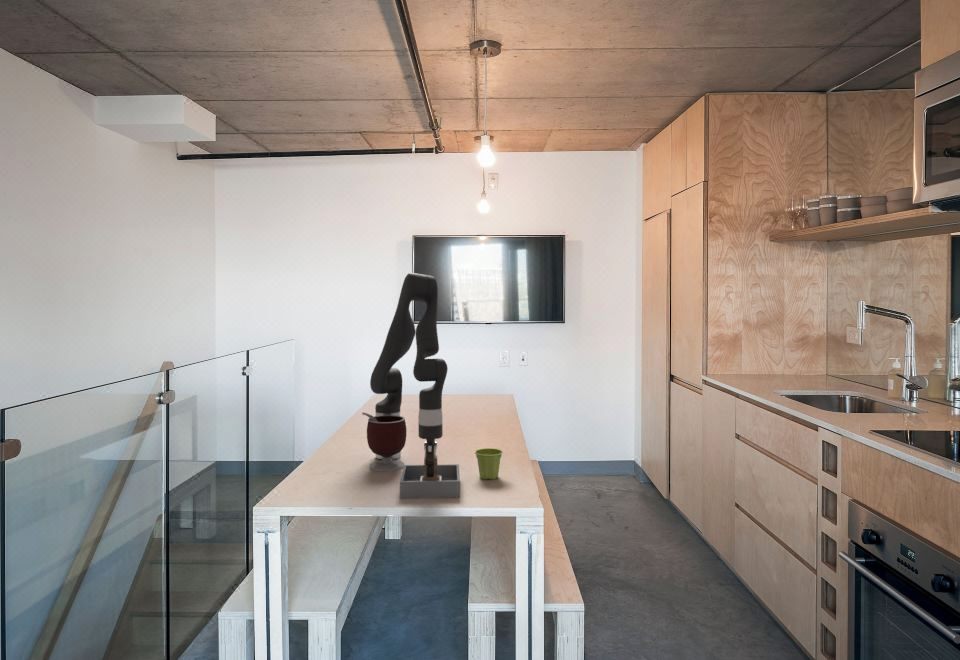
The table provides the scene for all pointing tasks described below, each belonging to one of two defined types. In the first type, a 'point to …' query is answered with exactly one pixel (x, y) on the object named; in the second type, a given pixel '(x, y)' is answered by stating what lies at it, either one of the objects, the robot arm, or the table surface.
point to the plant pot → (488, 462)
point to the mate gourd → (386, 440)
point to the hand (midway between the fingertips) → (430, 473)
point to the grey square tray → (430, 482)
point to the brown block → (434, 470)
